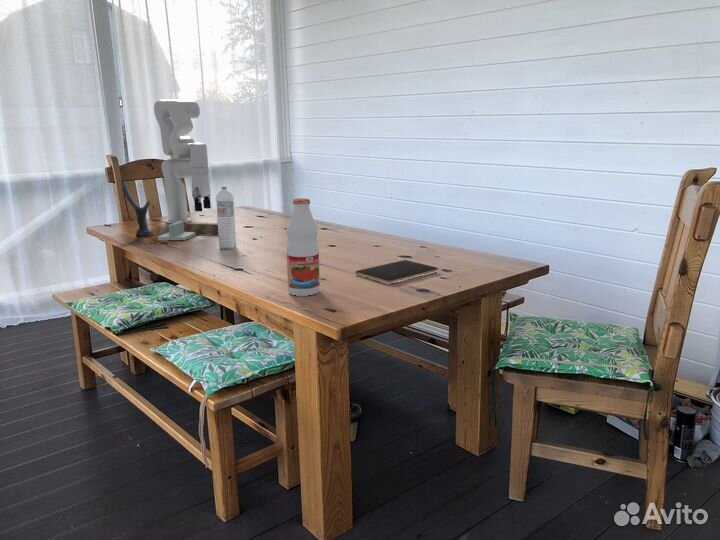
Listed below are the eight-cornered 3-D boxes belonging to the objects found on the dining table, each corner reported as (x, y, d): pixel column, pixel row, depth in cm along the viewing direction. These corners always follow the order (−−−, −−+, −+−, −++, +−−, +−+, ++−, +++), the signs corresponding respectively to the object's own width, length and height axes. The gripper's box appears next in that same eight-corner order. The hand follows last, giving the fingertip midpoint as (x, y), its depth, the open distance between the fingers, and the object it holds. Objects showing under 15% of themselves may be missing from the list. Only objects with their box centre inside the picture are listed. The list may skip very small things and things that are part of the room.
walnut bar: (186, 234, 265) (185, 223, 264) (189, 232, 269) (189, 222, 267) (219, 235, 262) (218, 224, 261) (222, 233, 266) (222, 223, 265)
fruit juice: (313, 286, 180) (311, 196, 173) (324, 294, 172) (322, 200, 165) (284, 290, 176) (280, 198, 169) (293, 298, 168) (290, 202, 161)
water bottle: (215, 248, 235) (211, 186, 228) (230, 245, 239) (226, 184, 233) (225, 250, 230) (221, 187, 224) (239, 248, 235) (236, 186, 229)
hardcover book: (438, 274, 196) (438, 267, 195) (388, 287, 181) (388, 280, 181) (404, 265, 208) (404, 259, 207) (355, 277, 193) (355, 270, 192)
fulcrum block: (170, 234, 263) (169, 220, 261) (195, 235, 261) (194, 221, 259) (157, 240, 251) (156, 225, 249) (184, 240, 249) (183, 225, 248)
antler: (151, 233, 266) (146, 178, 260) (156, 236, 260) (151, 180, 254) (125, 236, 260) (119, 180, 254) (129, 239, 254) (123, 181, 247)
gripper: (199, 170, 267) (202, 207, 271) (183, 172, 250) (187, 212, 254) (215, 170, 266) (218, 207, 270) (200, 172, 249) (203, 212, 253)
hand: (203, 209), depth 262 cm, fingers open, 9 cm apart
